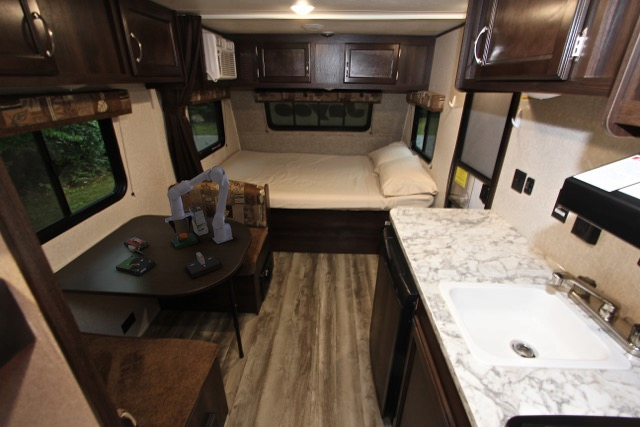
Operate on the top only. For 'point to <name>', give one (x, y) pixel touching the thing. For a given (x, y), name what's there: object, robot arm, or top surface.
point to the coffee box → (199, 220)
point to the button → (183, 235)
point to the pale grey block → (200, 258)
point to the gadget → (202, 266)
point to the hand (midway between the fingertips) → (182, 230)
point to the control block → (184, 241)
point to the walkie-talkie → (135, 244)
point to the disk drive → (135, 265)
